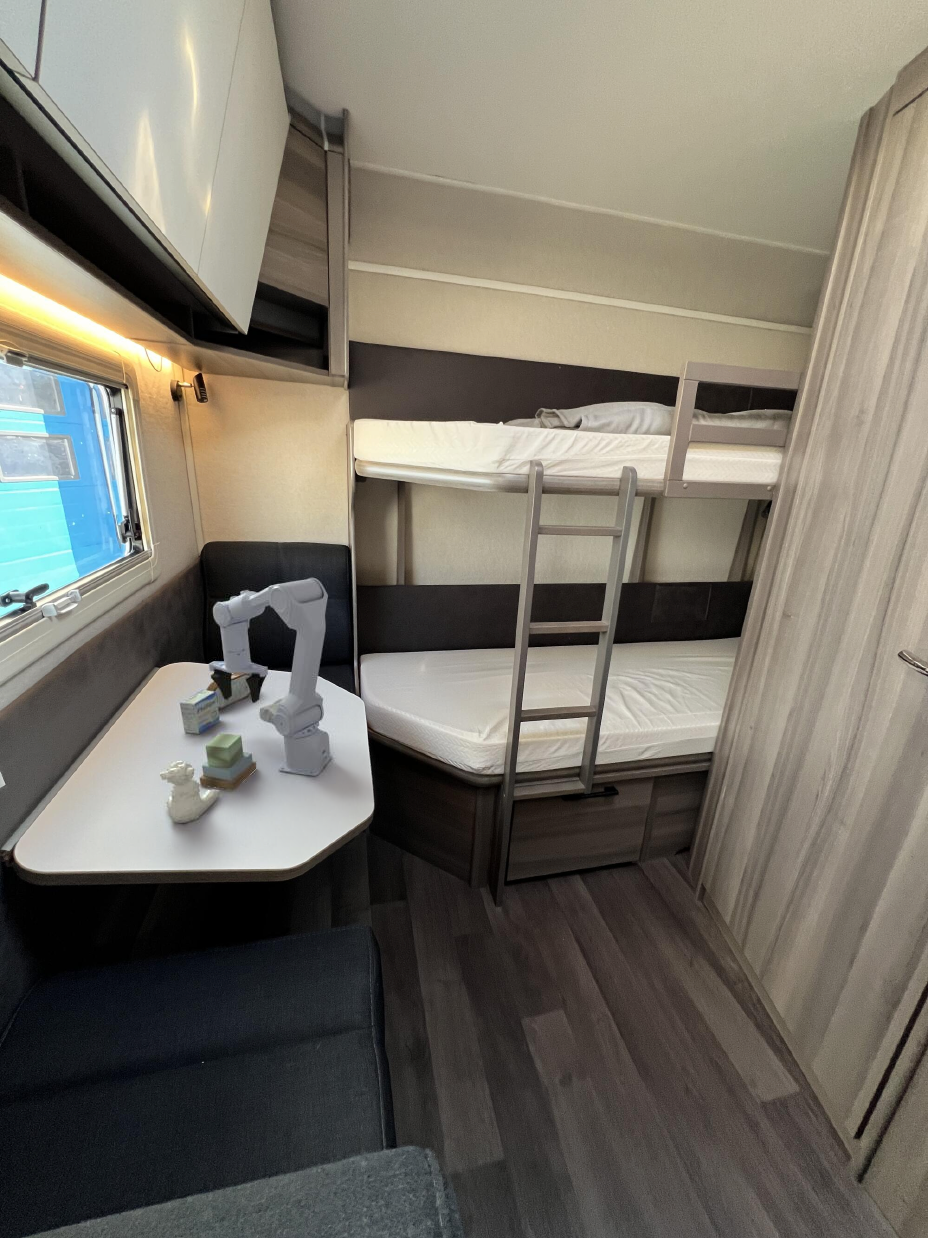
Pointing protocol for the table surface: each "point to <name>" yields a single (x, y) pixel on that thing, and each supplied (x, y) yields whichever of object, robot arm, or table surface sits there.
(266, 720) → the stone block
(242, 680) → the tin
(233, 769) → the slate blue slab
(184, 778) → the seated beast figurine
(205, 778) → the walnut slab
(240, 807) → the table surface
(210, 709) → the medicine box
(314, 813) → the table surface
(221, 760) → the green cube
